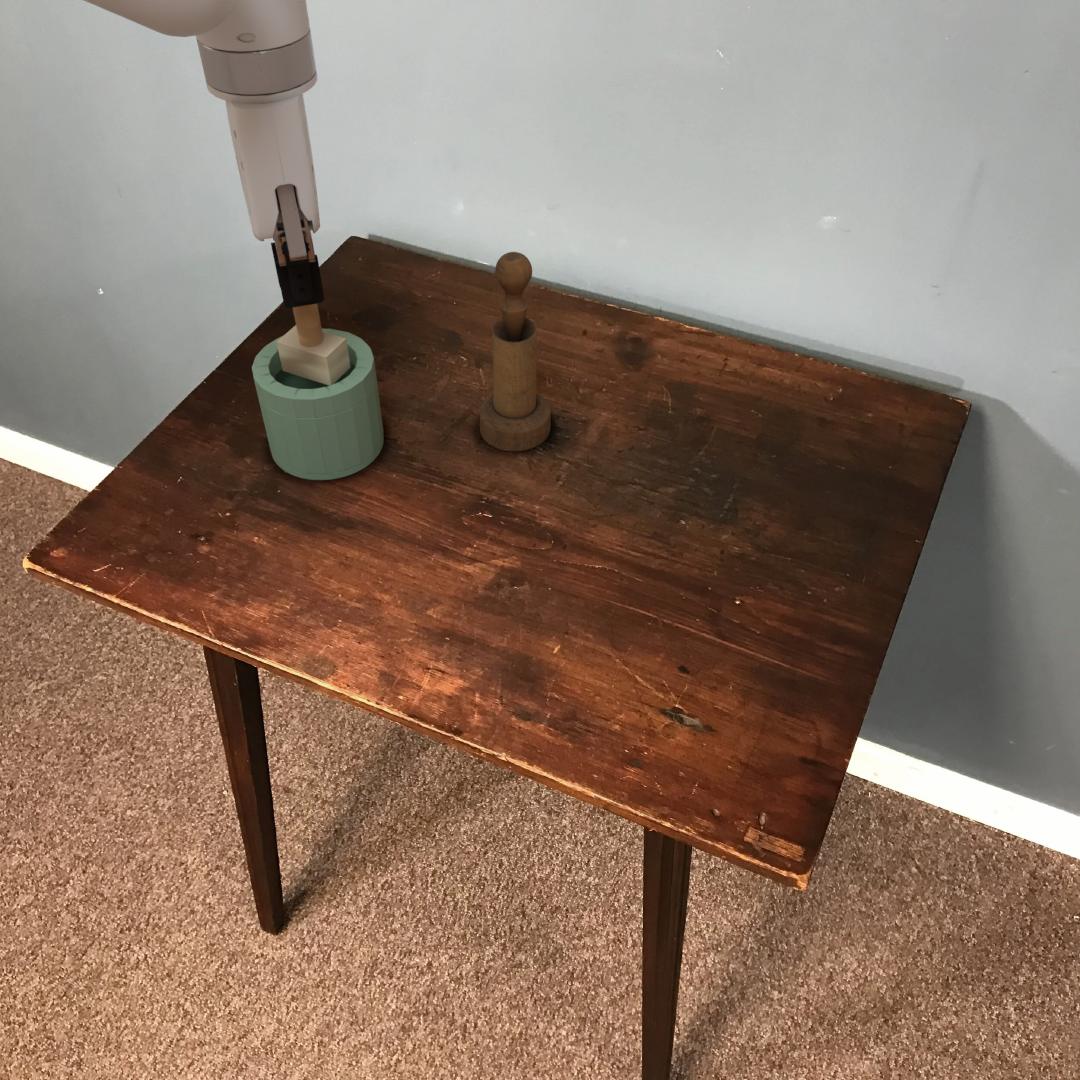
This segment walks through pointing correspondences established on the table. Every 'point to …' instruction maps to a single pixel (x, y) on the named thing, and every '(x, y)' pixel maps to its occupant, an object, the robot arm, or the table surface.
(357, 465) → the jar
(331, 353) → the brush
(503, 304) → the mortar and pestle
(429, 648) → the table surface
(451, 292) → the table surface
